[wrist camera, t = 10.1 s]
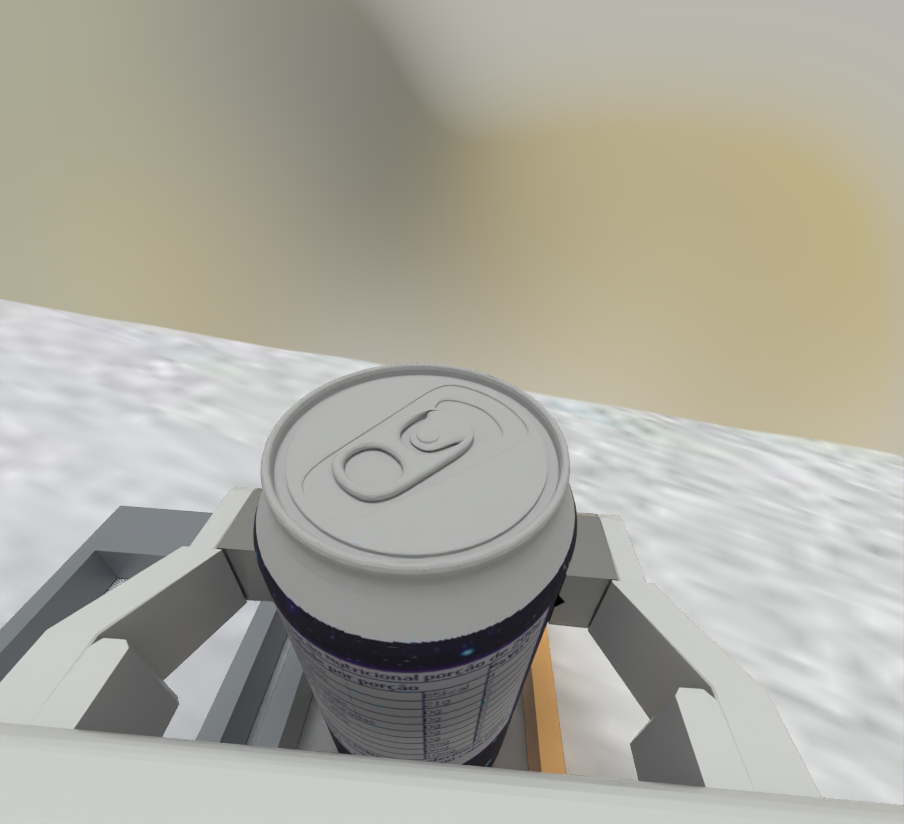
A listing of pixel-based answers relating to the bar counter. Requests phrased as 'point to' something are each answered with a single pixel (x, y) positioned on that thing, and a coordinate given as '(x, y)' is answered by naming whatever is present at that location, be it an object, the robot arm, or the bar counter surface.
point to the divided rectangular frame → (236, 705)
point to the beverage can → (416, 553)
